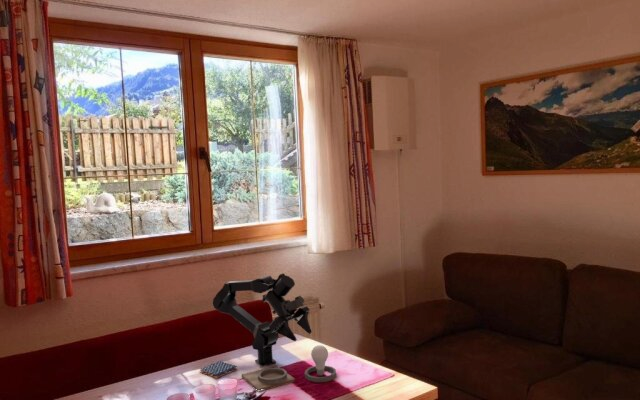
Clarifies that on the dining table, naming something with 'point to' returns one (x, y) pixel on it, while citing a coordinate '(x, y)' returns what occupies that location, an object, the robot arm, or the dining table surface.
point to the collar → (320, 379)
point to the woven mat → (218, 369)
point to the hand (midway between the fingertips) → (303, 336)
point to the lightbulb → (319, 358)
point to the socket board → (268, 378)
